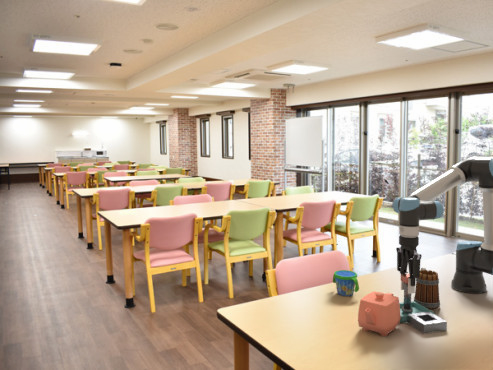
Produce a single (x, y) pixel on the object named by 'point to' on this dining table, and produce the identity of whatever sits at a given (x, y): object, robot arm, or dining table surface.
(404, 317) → the tray
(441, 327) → the eye block
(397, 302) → the teapot
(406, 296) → the rod with pink block
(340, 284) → the snack cup
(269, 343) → the dining table surface
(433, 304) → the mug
